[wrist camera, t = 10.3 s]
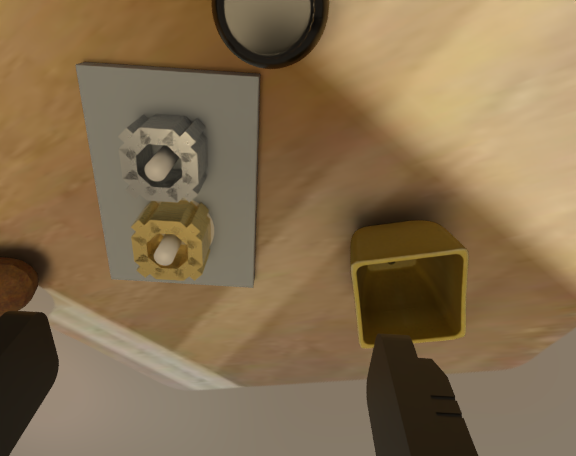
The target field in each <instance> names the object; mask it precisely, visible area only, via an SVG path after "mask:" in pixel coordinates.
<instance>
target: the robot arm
mask: <svg viewBox="0 0 576 456" xmlns="http://www.w3.org/2000/svg"><path fill="white" fill-rule="evenodd" d="M58 366H59V360H58V355H57V351H56V348H55V344H54V340H53V337H52V333H51V329H50V325H49V322H48V318H47V316H46V315H45V314H44V313H42V312H26V311H7V312H5V313H4V314H3V315H2V316H1V317H0V456H9V455H10V453H11V451H12V450H13V448H14V447H15V445H16V443H17V441H18V440H19V438H20V437H21V435H22V434H23V432H24V430H25V429H26V427H27V426H28V424H29V422H30V421H31V419H32V418H33V416H34V414H35V413H36V411H37V409H38V408H39V406H40V405H41V403H42V402H43V400H44V398H45V397H46V395H47V394H48V392H49V390H50V389H51V387H52V385H53V384H54V382H55V379H56V376H57V373H58ZM367 405H368V411H369V417H370V422H371V428H372V434H373V440H374V446H375V452H376V456H478V454H477V451H476V449H475V446H474V444H473V441H472V439H471V436H470V434H469V431H468V428H467V426H466V423H465V421H464V418H462V413H461V411H460V408H459V405H458V403H457V401H455V395H454V393H453V390H452V388H451V385H450V382H449V380H448V377H447V376H446V375H445V373H444V372H443V371H442V370H441V369H440V368H439V367H438V365H437V364H436V363H435V362H434V361H433V360H432V359H426V358H418V357H417V354H416V351H415V348H414V345H413V342H412V339H411V337H410V336H409V335H396V334H377V336H376V339H375V344H374V348H373V353H372V358H371V363H370V367H369V372H368V377H367Z"/></svg>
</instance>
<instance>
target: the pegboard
mask: <svg viewBox="0 0 576 456" xmlns="http://www.w3.org/2000/svg"><path fill="white" fill-rule="evenodd" d="M76 70H77V76H78V82H79V88H80V94H81V100H82V106H83V112H84V118H85V124H86V130H87V136H88V142H89V148H90V154H91V160H92V166H93V172H94V178H95V184H96V190H97V196H98V202H99V208H100V214H101V220H102V226H103V232H104V238H105V244H106V250H107V256H108V262H109V268H110V274H111V279H118V280H134V281H151V282H168V283H184V284H201V285H217V286H234V287H250V288H253V285H254V276H255V241H256V205H257V169H258V134H259V98H260V74H256V73H241V72H226V71H211V70H196V69H181V68H166V67H151V66H136V65H121V64H106V63H91V62H83V63H80V64H76ZM143 114H144V115H145V116H146V117H147V118H148V119H150V118H151V117H152V116H153V115H155V114H164V115H180V116H186V117H187V118H188V119H189V120H190V121H191V122H193V121H194V120H195V119H196V118H198V119H199V120H200V121H201V122H202V123H203V124H204V125H205V126H206V127H205V129H204V130H203V132H202V133H203V134H204V135H205V136H206V137H207V150H208V166H207V168H206V170H205V172H204V173H205V174H206V175H207V178H206V180H205V182H204V184H203V186H202V188H201V190H200V192H199V194H198V195H197V196H196V197H195V198H194V199H193V200H192V201H191V202H193V203H194V204H195V205H196V206H197V205H198V204H200V203H203V204H204V205H205V206H206V207H207V208H208V209H209V212H208V214H207V216H208V217H209V218H210V224H211V243H210V246H209V249H210V253H209V256H208V259H207V262H206V265H205V268H204V271H203V274H202V275H201V276H200V277H199V278H197V279H196V280H195V281H194V280H193V279H192V278H190V277H188V278H187V279H185V280H184V281H178V280H162V279H155V278H154V277H153V276H152V275H150V274H149V275H148V276H147V277H146V278H145V277H144V276H142V275H141V274H140V273H139V272H137V271H136V270H137V268H138V267H139V265H138V264H137V263H136V262H134V256H133V248H132V240H131V236H132V235H133V233H134V232H135V230H133V229H132V228H131V226H132V225H133V223H134V222H135V220H136V219H137V218H138V216H139V215H140V213H141V212H142V211H143V209H144V208H145V206H146V205H147V204H148V203H150V202H151V201H147V200H146V199H145V198H144V197H142V196H141V195H139V196H138V197H137V198H136V199H135V198H133V197H132V196H131V195H130V194H129V193H128V192H127V191H125V190H126V188H127V187H128V186H129V184H128V183H126V182H125V181H124V180H123V178H122V171H121V163H120V156H119V148H120V147H121V146H122V145H123V144H124V142H123V141H122V140H121V139H120V138H119V137H118V136H119V135H120V134H121V133H122V132H123V131H124V130H125V129H126V128H127V127H128V126H129V125H131V124H132V123H133V122H134V121H136V120H137V119H138V118H140V117H141V116H142V115H143ZM152 150H153V157H152V159H151V160H150V161H149V162H148V163H147V164H146V166H145V174H146V175H147V177H148V178H149V179H151V180H153V181H162V180H163V179H164V178H165V177H166V176H167V174H168V173H169V171H170V170H171V169H182V162H181V158H180V157H178V156H177V155H176V154H175V153H174V152H173V151H172V150H171V149H170V148H169V147H168V146H167V145H152ZM181 200H186V199H185V198H184V197H183V198H182V199H181ZM186 201H187V200H186ZM156 202H157V203H158V204H159V203H160V202H161V201H156ZM162 235H163V236H164V237H163V239H162V240H161V242H160V244H159V246H158V248H157V250H156V251H155V253H154V259H155V261H156V262H157V263H158V264H160V265H164V266H167V265H170V264H171V263H172V262H173V260H174V258H175V256H176V253H177V251H178V249H179V247H180V245H186V244H185V243H184V242H183V241H181V240H180V239H179V238H178V237H177V236H176V235H175V234H162Z"/></svg>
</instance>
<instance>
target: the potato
mask: <svg viewBox="0 0 576 456" xmlns="http://www.w3.org/2000/svg"><path fill="white" fill-rule="evenodd" d="M37 287H38V276H37V273H36V271H35V270H34V269H33V268H32V266H30V265H29V264H27V263H25V262H24V261H22V260H18V259H13V258H4V257H0V317H1V316H2V315H3V314H4V313H5V312H7V311H18V310H20V309H21V308H23V307H25V306H26V305H27V304H28V303H29V301H30V300H31V299H32V297H33V295H34V293H35V291H36V289H37Z"/></svg>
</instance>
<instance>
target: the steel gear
mask: <svg viewBox="0 0 576 456" xmlns="http://www.w3.org/2000/svg"><path fill="white" fill-rule="evenodd" d="M205 127H206V126H205V125H204V124H203V123H202V122H201V121H200V120H199V119H198V118H196V119H195V120H194V121H193V122H191V121H190V120H189V119H188V118H187V117H186V116H180V115H164V114H155V115H153V116H152V117H151V118H150V119H148V118H147V117H146V116H145V115H144V114H143V115H142V116H141V117H140V118H138V119H137V120H136V121H134V122H133V123H132V124H131V125H129V126H128V127H127V128H126V129H125V130H124V131H123V132H122V133H121V134H120V135H119V136H118V137H119V138H120V139H121V140H122V141H123V142H124V144H123V145H122V146H121V147H120V148H119V156H120V163H121V171H122V178H123V180H124V181H125V182H126V183H128V184H129V186H128V187H127V188H126V190H125V191H127V192H128V193H129V194H130V195H131V196H132V197H133V198H135V199H136V198H137V197H138V196H139V195H141V196H142V197H144V198H145V199H146V200H147V201H162V202H177V203H178V202H179V201H180V200H181V199H182V198H183V197H184V198H185V199H186V200H187V201H188V202H190V201H192V200H193V199H194V198H195V197H196V196H197V195H198V194H199V192H200V190H201V188H202V186H203V184H204V182H205V180H206V178H207V175H206V174H205V173H204V172H205V170H206V168H207V166H208V150H207V137H206V136H205V135H204V134H203V133H202V132H203V130H204V129H205ZM152 145H167V146H168V147H169V148H170V149H171V150H172V151H173V152H174V153H175V154H176V155H177V156H178V157H180V158H181V162H182V169H171V170H170V171H169V173H168V174H167V176H166V177H165V178H164V179H163V180H162V181H153V180H151V179H149V178H148V177H147V175H146V174H145V166H146V164H147V163H148V162H149V161H150V160H151V159H152V157H153V150H152Z"/></svg>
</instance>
